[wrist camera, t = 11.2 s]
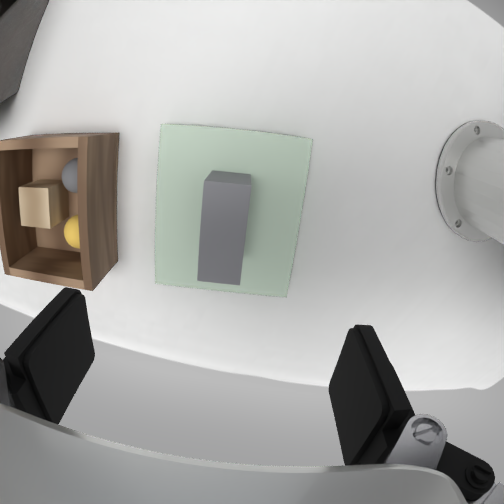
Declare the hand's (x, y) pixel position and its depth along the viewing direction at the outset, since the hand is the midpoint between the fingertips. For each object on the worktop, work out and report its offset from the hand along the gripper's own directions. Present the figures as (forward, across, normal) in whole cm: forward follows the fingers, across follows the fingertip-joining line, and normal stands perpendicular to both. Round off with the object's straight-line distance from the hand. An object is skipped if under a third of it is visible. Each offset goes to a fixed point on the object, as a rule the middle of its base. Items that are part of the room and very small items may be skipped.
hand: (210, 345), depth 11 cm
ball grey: (+17, +14, -2) cm, 22 cm away
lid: (+18, +1, 0) cm, 18 cm away
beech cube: (+17, +18, 0) cm, 24 cm away
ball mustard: (+17, +14, +3) cm, 22 cm away
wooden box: (+18, +16, 0) cm, 24 cm away
